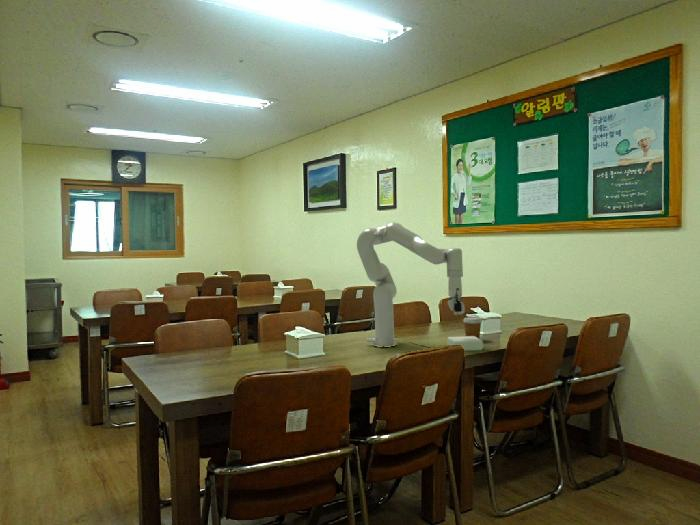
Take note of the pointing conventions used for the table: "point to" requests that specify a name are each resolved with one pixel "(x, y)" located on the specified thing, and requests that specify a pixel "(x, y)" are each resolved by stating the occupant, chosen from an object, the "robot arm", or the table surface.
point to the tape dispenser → (451, 305)
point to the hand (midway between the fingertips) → (456, 310)
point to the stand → (466, 342)
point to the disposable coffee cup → (472, 326)
